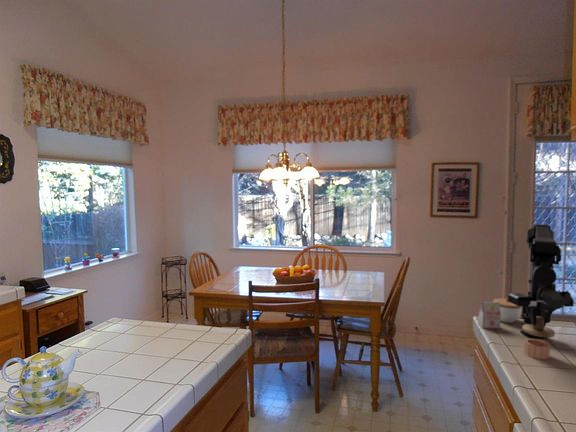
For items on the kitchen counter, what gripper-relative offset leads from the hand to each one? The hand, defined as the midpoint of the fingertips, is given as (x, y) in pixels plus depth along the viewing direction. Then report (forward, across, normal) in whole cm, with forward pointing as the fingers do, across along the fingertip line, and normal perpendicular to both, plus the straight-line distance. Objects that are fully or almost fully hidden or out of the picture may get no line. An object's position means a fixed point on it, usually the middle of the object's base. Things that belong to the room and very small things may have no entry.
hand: (538, 325), depth 128 cm
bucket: (+10, 0, 0) cm, 10 cm away
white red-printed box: (+10, -2, +25) cm, 27 cm away
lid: (+2, 0, 0) cm, 2 cm away
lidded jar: (+10, +10, +33) cm, 36 cm away
